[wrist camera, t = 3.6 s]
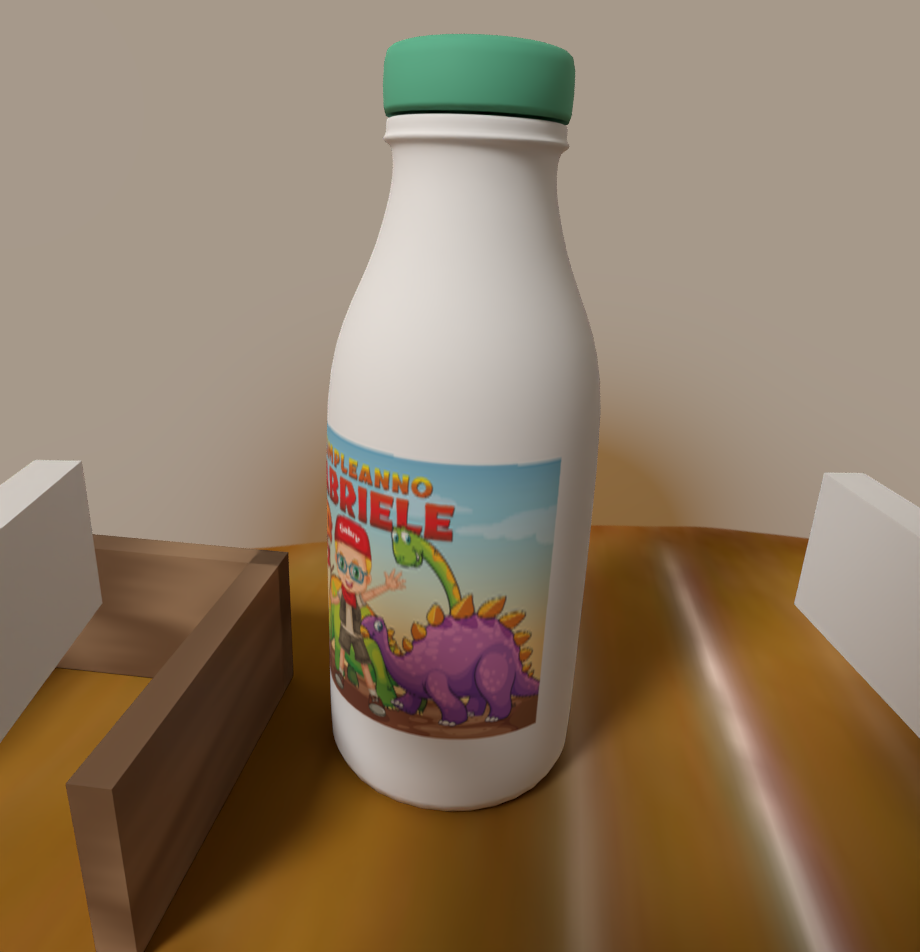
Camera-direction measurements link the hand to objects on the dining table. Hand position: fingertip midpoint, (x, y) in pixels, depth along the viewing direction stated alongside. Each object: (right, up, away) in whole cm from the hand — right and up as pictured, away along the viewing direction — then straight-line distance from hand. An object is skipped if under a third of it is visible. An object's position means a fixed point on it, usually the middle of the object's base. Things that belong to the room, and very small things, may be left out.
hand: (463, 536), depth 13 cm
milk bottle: (0, -8, +12) cm, 14 cm away
